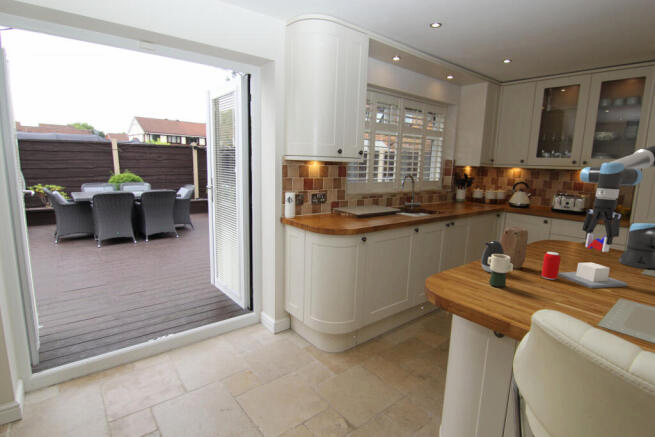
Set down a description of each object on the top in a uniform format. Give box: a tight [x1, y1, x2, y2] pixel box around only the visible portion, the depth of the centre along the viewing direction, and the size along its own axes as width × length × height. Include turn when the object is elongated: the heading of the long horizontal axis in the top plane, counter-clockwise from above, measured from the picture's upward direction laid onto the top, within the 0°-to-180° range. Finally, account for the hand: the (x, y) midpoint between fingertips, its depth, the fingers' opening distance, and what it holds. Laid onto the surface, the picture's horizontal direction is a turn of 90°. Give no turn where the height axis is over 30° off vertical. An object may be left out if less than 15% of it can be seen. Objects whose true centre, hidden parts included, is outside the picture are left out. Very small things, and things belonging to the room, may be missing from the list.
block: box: [500, 226, 529, 270], centre depth 165 cm, size 11×8×20 cm
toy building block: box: [586, 235, 607, 252], centre depth 146 cm, size 4×4×8 cm
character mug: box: [488, 254, 514, 288], centre depth 138 cm, size 11×7×13 cm, turn 30°
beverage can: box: [541, 251, 561, 281], centre depth 150 cm, size 6×6×12 cm
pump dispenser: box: [480, 240, 504, 274], centre depth 156 cm, size 10×10×15 cm
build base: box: [558, 262, 628, 289], centre depth 149 cm, size 20×16×7 cm
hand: (596, 249), depth 147 cm, fingers closed on toy building block, 7 cm apart
